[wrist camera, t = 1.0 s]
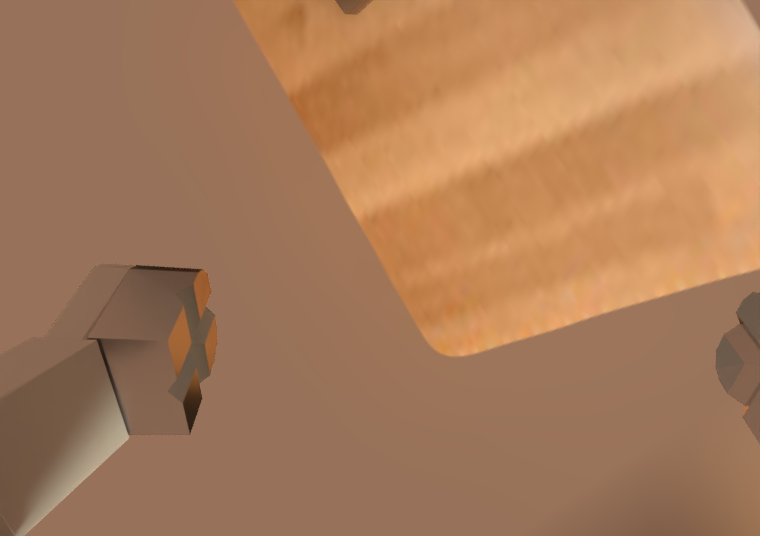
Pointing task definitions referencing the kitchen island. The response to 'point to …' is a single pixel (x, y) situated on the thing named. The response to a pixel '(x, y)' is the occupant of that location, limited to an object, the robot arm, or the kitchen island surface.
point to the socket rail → (352, 5)
